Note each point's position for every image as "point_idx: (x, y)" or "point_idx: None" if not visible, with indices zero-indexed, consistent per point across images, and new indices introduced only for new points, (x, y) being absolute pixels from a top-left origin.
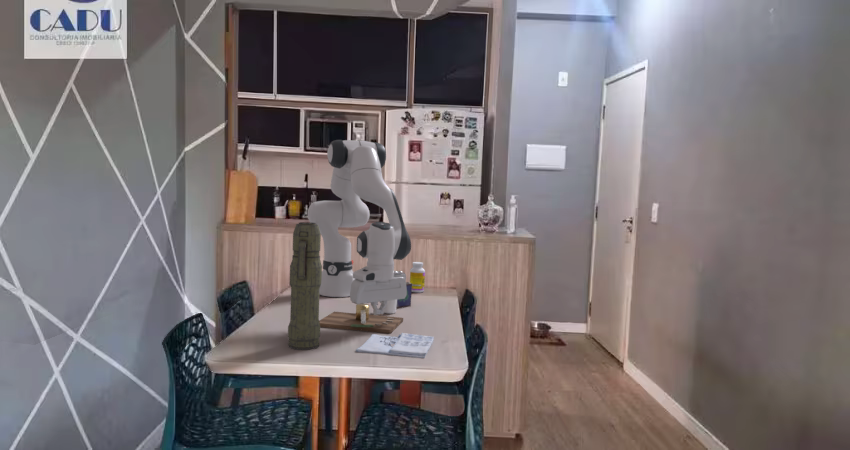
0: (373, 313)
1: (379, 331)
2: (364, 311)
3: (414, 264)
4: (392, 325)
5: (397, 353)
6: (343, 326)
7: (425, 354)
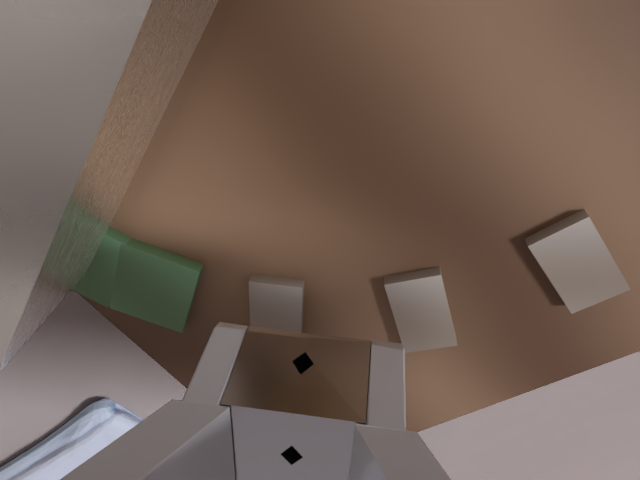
0: (214, 330)
1: None
2: (45, 184)
3: None
4: (435, 399)
5: None
6: None
7: None
